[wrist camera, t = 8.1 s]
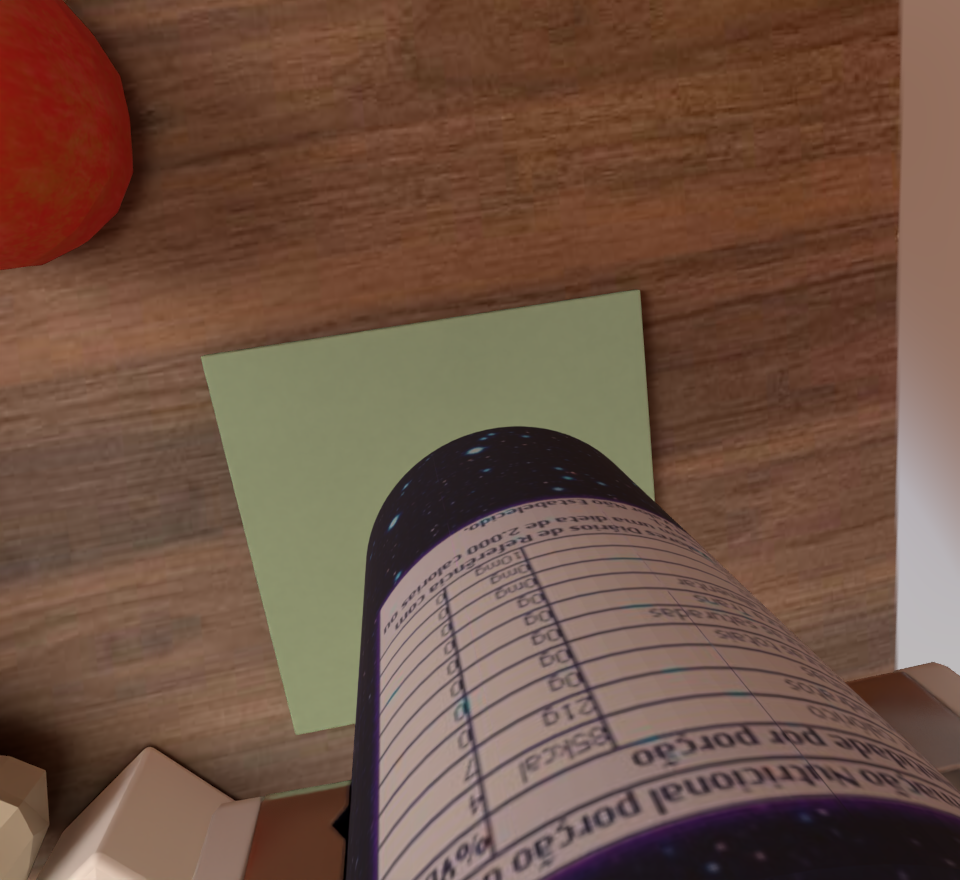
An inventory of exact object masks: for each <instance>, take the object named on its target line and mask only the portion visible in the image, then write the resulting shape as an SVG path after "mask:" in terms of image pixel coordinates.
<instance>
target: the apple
mask: <svg viewBox="0 0 960 880" xmlns="http://www.w3.org/2000/svg"><path fill="white" fill-rule="evenodd" d="M132 174H133V156H132V143H131V129H130V118H129V113H128V108H127V104H126V99H125V95H124V91H123V86H122V82H121V78H120V75H119V74H118V72H117V71H116V69H115V67H114V66H113V64H112V63H111V61H110V60H109V58H108V57H107V55H106V54H105V52H104V51H103V49H102V48H101V46H100V44H99V43H98V41H97V40H96V38H95V37H94V35H93V34H92V32H91V31H90V30H89V29H88V28H87V27H86V26H85V25H84V24H83V23H82V21H81V20H80V19H79V18H78V17H77V16H76V15H75V14H74V13H73V11H72V10H71V9H70V8H69V7H68V6H67V5H66V4H65V3H64V2H63V0H0V270H4V269H12V268H19V267H26V266H37V265H43V264H45V263H47V262H49V261H51V260H53V259H55V258H57V257H59V256H61V255H63V254H65V253H67V252H69V251H71V250H73V249H75V248H77V247H79V246H81V245H82V244H84V243H86V242H87V241H89V240H90V239H91V238H92V237H93V236H94V235H95V234H96V233H97V232H98V231H99V230H100V229H101V228H102V227H103V226H104V225H105V224H106V223H107V222H108V221H109V220H110V219H111V218H112V217H114V216H115V215H116V214H117V213H118V210H119V208H120V205H121V203H122V200H123V197H124V195H125V192H126V190H127V187H128V185H129V182H130V179H131V177H132Z"/></svg>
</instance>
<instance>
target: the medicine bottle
mask: <svg viewBox="0 0 960 880" xmlns="http://www.w3.org/2000/svg"><path fill="white" fill-rule="evenodd" d="M233 801H235V800H233V799H232V798H230V797H229V796H227V795H226V794H224V793H222V792H221V791H219V790H218V789H216V788H215V787H213V786H212V785H210V784H209V783H207V782H206V781H204V780H202V779H201V778H199V777H198V776H196V775H195V774H193V773H192V772H190V771H189V770H187V769H185V768H184V767H182V766H181V765H179V764H178V763H176V762H175V761H173V760H172V759H170V758H168V757H167V756H165V755H164V754H162V753H161V752H159V751H158V750H156V749H155V748H152V747H147V748H145V749H144V750H143V751H142V752H141V753H140V754H139V755H138V756H137V757H136V758H135V759H134V760H133V761H132V762H131V763H130V764H129V765H128V766H127V767H126V768H125V769H124V770H123V771H122V772H121V773H120V774H119V775H118V776H117V777H116V778H115V779H114V780H113V781H112V782H111V783H110V784H109V785H108V786H107V787H106V788H105V789H104V790H103V791H102V792H101V793H100V794H99V796H98V797H97V798H96V799H95V800H94V801H93V802H92V803H91V804H90V805H89V806H88V807H87V808H86V809H85V810H84V811H83V812H82V813H81V814H80V815H79V816H78V817H77V818H76V819H75V820H74V821H73V822H72V823H71V824H70V825H69V826H68V827H67V828H66V829H65V830H64V831H63V832H62V834H61V836H60V838H59V839H58V841H57V843H56V845H55V847H54V848H53V850H52V852H51V854H50V856H49V857H48V859H47V861H46V863H45V864H44V866H43V868H42V870H41V872H40V873H39V875H38V877H37V879H36V880H192V879H193V876H194V873H195V869H196V866H197V863H198V860H199V857H200V853H201V850H202V847H203V844H204V840H205V837H206V834H207V831H208V828H209V824H210V821H211V818H212V815H213V813H214V812H215V811H216V809H217V808H218V807H219V806H220V805H221V804H222V803H228V802H233Z"/></svg>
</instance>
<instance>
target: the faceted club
mask: <svg viewBox="0 0 960 880" xmlns="http://www.w3.org/2000/svg"><path fill="white" fill-rule="evenodd" d="M48 827H49V810H48V795H47V780H46V770H43V769H41V768H38V767H36V766H33V765H31V764H28V763H26V762H23V761H21V760H18V759H16V758H13V757H11V756H1V755H0V880H27V879H28V877H29V874H30V872H31V869H32V867H33V864H34V862H35V859H36V857H37V854H38V852H39V849H40V847H41V844H42V842H43V839H44V837H45V834H46V832H47V829H48Z"/></svg>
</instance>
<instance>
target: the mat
mask: <svg viewBox="0 0 960 880" xmlns="http://www.w3.org/2000/svg"><path fill="white" fill-rule="evenodd" d="M201 360H202V364H203V368H204V372H205V376H206V380H207V384H208V388H209V392H210V396H211V400H212V404H213V408H214V412H215V416H216V420H217V424H218V428H219V431H220V435H221V439H222V443H223V447H224V451H225V455H226V459H227V463H228V467H229V471H230V475H231V479H232V483H233V487H234V491H235V495H236V499H237V503H238V507H239V511H240V515H241V519H242V523H243V527H244V531H245V535H246V539H247V543H248V547H249V551H250V555H251V559H252V563H253V567H254V571H255V575H256V579H257V583H258V587H259V590H260V594H261V598H262V602H263V606H264V610H265V614H266V618H267V622H268V626H269V630H270V634H271V638H272V642H273V646H274V650H275V654H276V658H277V662H278V666H279V670H280V674H281V678H282V682H283V686H284V690H285V694H286V698H287V702H288V706H289V710H290V714H291V718H292V722H293V726H294V730H295V734H296V735H299V734H304V733H309V732H315V731H320V730H325V729H330V728H335V727H340V726H345V725H351V724H355V721H356V706H357V691H358V676H359V660H360V645H361V630H362V615H363V599H364V584H365V569H366V555H367V548H368V543H369V538H370V534H371V531H372V528H373V525H374V522H375V520H376V517H377V515H378V513H379V511H380V509H381V507H382V505H383V503H384V502H385V500H386V498H387V497H388V495H389V494H390V492H391V491H392V490H393V488H394V487H395V486H396V484H397V483H398V482H399V481H400V480H401V478H402V477H403V476H404V475H405V474H406V473H407V472H408V471H409V470H410V469H411V468H412V467H413V466H415V465H416V464H417V463H418V462H419V461H421V460H422V459H423V458H424V457H426V456H427V455H429V454H430V453H431V452H433V451H435V450H436V449H438V448H440V447H441V446H443V445H445V444H447V443H449V442H451V441H453V440H456V439H458V438H460V437H463V436H466V435H469V434H472V433H475V432H479V431H483V430H487V429H493V428H498V427H509V426H526V427H537V428H544V429H549V430H554V431H558V432H561V433H564V434H567V435H570V436H572V437H575V438H577V439H579V440H581V441H583V442H585V443H587V444H589V445H591V446H592V447H594V448H595V449H597V450H598V451H600V452H601V453H602V454H604V455H605V456H606V457H608V458H609V459H610V460H611V461H612V462H613V463H614V464H615V465H616V466H618V467H619V468H620V469H621V470H622V471H623V472H624V473H625V474H626V475H627V476H628V477H629V478H630V479H631V480H632V481H633V482H634V483H635V484H636V485H638V486H639V487H640V488H641V489H642V490H643V491H644V492H645V493H646V494H647V495H648V496H649V497H650V498H651V499H652V500H653V501H654V502H655V494H654V480H653V466H652V452H651V438H650V423H649V409H648V395H647V381H646V367H645V353H644V339H643V325H642V311H641V297H640V290H629V291H623V292H616V293H610V294H603V295H597V296H590V297H583V298H577V299H570V300H564V301H557V302H550V303H544V304H537V305H531V306H524V307H518V308H511V309H504V310H498V311H491V312H485V313H478V314H471V315H465V316H458V317H452V318H445V319H439V320H432V321H425V322H419V323H412V324H406V325H399V326H392V327H386V328H379V329H373V330H366V331H360V332H353V333H346V334H340V335H333V336H327V337H320V338H313V339H307V340H300V341H294V342H287V343H281V344H274V345H267V346H261V347H254V348H248V349H241V350H234V351H228V352H221V353H215V354H208V355H204V356H202V357H201Z"/></svg>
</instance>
